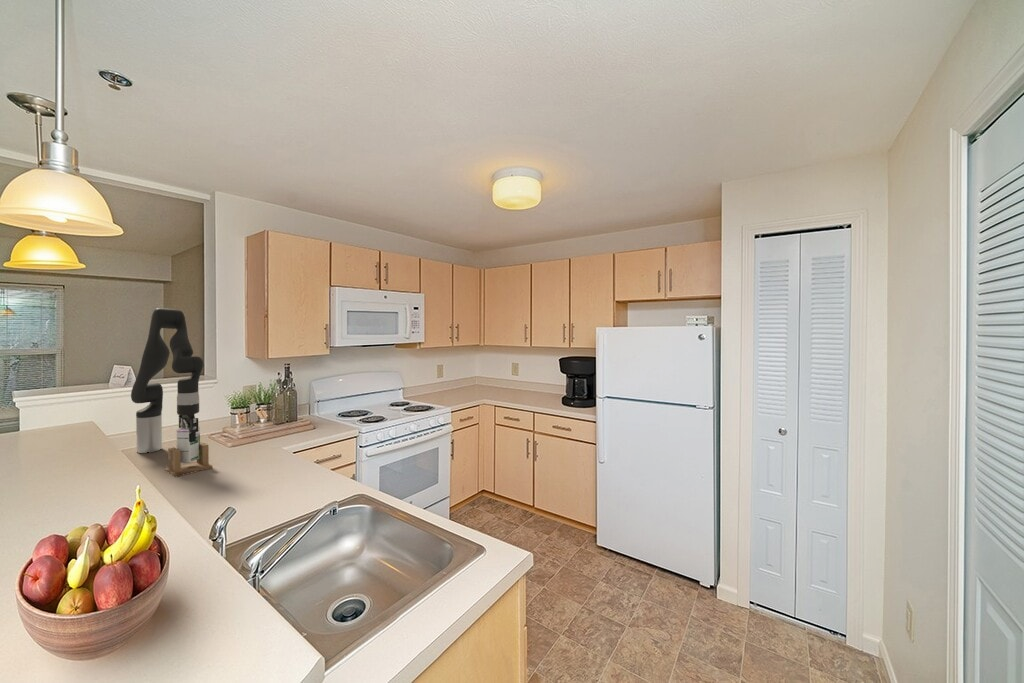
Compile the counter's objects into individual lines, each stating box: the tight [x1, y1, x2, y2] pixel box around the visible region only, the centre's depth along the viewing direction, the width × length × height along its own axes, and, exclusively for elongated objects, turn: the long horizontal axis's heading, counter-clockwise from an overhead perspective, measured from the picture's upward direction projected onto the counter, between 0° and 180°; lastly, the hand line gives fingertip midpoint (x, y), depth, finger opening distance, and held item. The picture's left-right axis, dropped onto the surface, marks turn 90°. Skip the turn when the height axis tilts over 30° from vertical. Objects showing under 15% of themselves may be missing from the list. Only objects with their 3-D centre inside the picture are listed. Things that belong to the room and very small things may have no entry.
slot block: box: [164, 441, 213, 478], centre depth 172 cm, size 12×13×10 cm
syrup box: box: [176, 426, 201, 464], centre depth 172 cm, size 6×6×14 cm
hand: (188, 440), depth 172 cm, fingers closed on syrup box, 7 cm apart
